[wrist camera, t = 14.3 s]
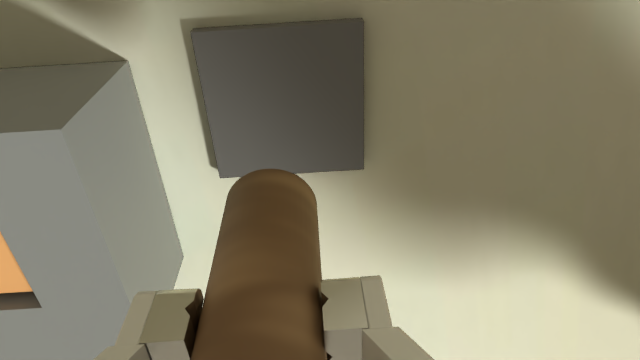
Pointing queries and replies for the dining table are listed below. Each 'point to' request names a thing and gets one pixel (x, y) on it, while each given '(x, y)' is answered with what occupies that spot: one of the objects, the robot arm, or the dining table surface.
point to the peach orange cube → (11, 271)
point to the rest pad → (284, 95)
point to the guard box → (78, 208)
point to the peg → (265, 274)
